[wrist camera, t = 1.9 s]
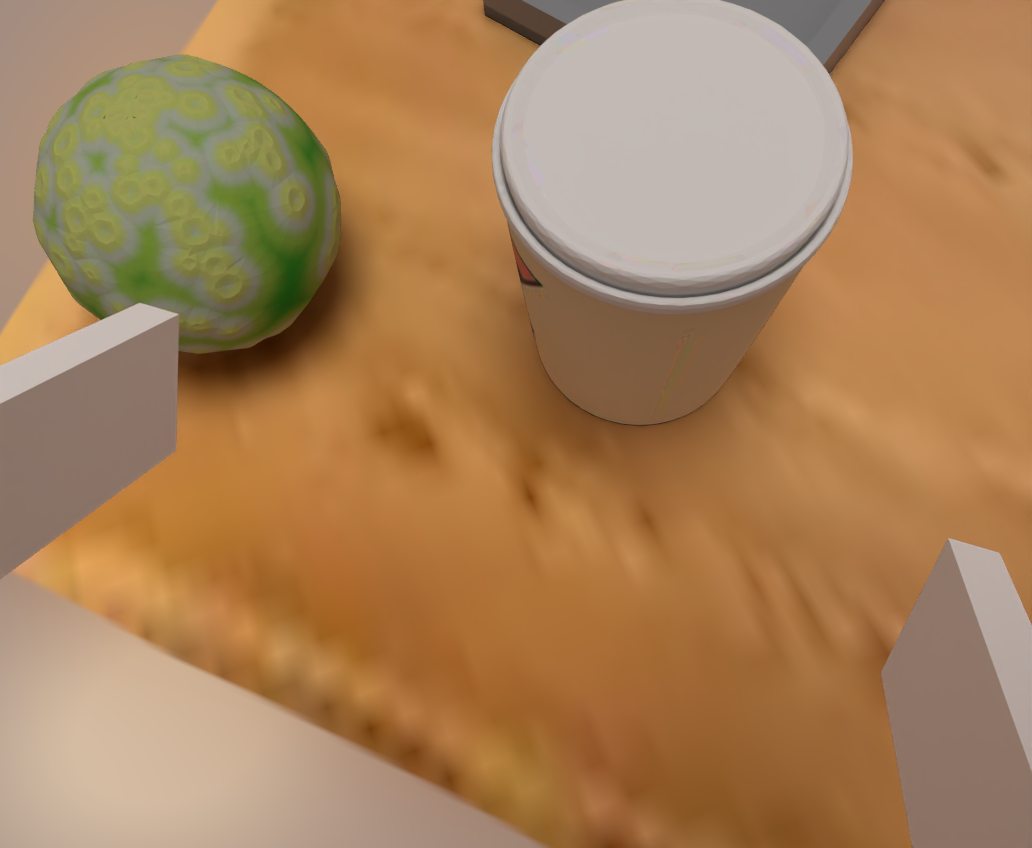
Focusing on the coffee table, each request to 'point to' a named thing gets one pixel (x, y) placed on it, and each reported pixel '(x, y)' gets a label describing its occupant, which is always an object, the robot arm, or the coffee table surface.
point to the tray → (790, 3)
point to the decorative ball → (187, 201)
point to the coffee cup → (664, 195)
